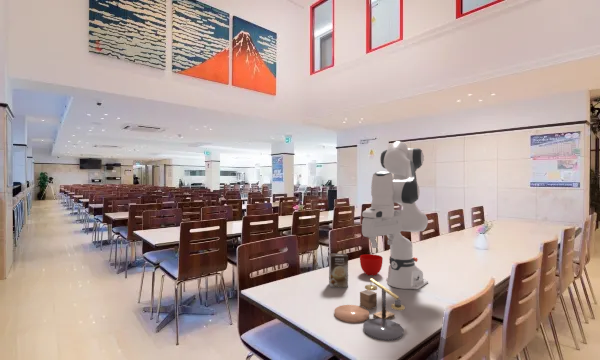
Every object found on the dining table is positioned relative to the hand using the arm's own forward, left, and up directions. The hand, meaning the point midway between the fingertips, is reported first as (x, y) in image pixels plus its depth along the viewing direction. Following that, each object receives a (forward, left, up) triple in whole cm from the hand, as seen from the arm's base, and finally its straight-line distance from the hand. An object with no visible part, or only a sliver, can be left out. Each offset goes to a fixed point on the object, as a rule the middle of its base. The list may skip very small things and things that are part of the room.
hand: (382, 246), depth 123 cm
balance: (0, +1, -28) cm, 28 cm away
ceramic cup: (-40, -42, -28) cm, 65 cm away
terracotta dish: (+9, -8, -28) cm, 31 cm away
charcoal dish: (+9, +8, -28) cm, 31 cm away
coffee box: (-10, -37, -28) cm, 48 cm away
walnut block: (-3, -10, -28) cm, 30 cm away
